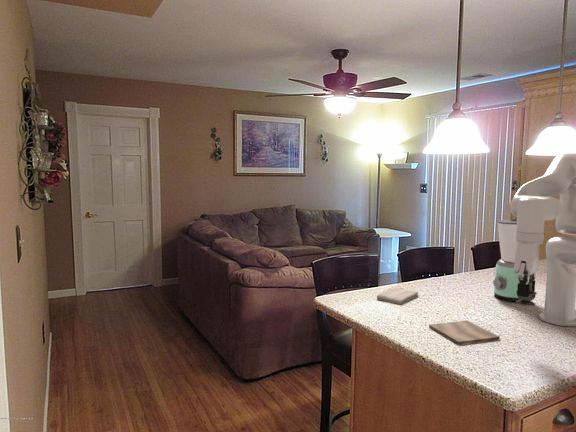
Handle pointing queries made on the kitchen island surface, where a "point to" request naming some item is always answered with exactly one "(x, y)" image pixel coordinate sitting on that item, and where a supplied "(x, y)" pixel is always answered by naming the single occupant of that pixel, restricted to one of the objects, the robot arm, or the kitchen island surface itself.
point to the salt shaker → (532, 294)
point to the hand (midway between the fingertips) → (525, 293)
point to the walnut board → (463, 332)
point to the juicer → (506, 262)
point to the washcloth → (397, 295)
